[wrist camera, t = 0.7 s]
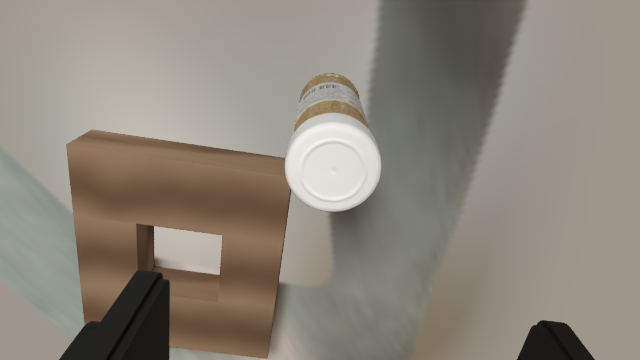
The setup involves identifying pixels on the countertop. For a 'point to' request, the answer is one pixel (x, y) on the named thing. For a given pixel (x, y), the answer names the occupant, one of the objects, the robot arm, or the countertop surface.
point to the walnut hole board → (185, 214)
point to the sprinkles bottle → (332, 147)
